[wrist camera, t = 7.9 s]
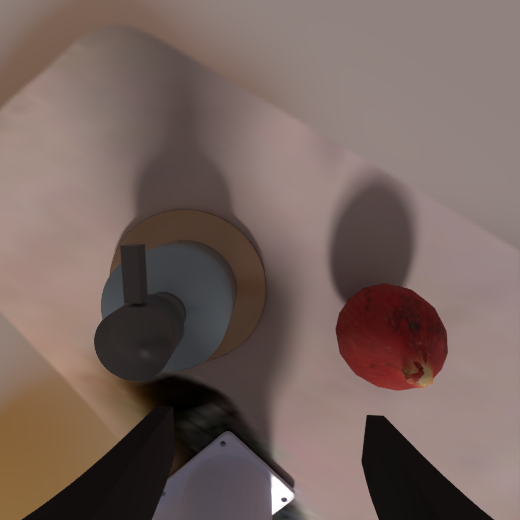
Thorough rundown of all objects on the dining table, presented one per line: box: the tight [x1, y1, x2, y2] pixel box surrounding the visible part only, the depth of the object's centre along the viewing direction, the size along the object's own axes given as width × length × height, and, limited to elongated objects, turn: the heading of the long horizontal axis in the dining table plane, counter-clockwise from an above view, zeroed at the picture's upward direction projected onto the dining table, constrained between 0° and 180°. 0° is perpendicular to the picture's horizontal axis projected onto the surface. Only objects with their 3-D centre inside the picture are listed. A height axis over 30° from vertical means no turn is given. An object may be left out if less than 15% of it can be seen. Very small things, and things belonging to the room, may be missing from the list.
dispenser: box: [101, 210, 266, 371], centre depth 18 cm, size 11×11×6 cm
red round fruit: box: [336, 284, 448, 391], centre depth 16 cm, size 6×6×8 cm
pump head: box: [94, 243, 184, 381], centre depth 13 cm, size 5×5×3 cm
